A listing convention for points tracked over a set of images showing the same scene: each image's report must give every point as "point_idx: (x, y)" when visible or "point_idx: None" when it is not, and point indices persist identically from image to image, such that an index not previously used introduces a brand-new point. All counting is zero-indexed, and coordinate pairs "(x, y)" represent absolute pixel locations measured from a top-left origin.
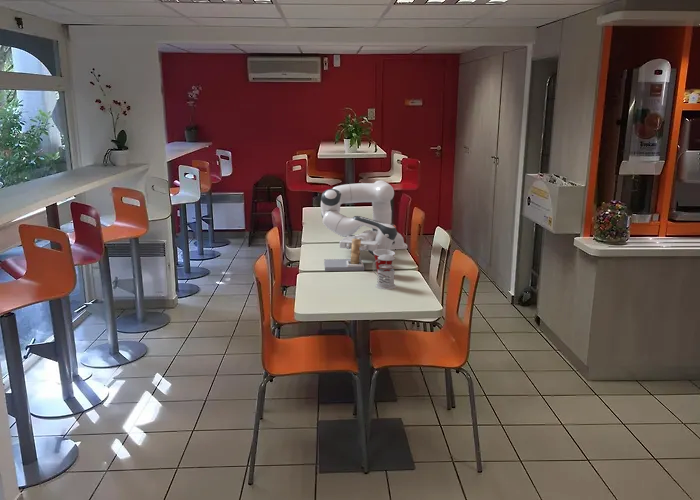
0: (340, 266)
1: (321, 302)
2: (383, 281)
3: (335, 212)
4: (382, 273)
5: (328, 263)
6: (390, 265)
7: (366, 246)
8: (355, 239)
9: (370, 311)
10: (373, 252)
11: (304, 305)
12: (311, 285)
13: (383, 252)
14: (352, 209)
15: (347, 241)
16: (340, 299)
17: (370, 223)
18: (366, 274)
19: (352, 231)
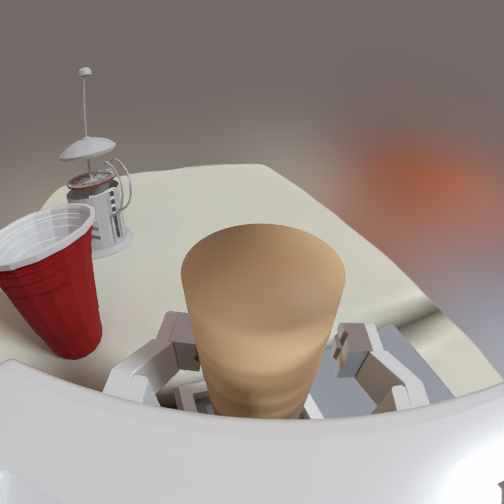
0: (331, 360)
1: (247, 178)
2: (101, 245)
3: None
4: (109, 185)
5: (425, 387)
6: (72, 187)
7: (112, 391)
8: (281, 262)
9: (159, 171)
10: (93, 214)
11: (270, 172)
12: (320, 222)
13: (16, 278)
14: None
15: (461, 421)
16: (216, 185)
17: None
18: None
19: None
